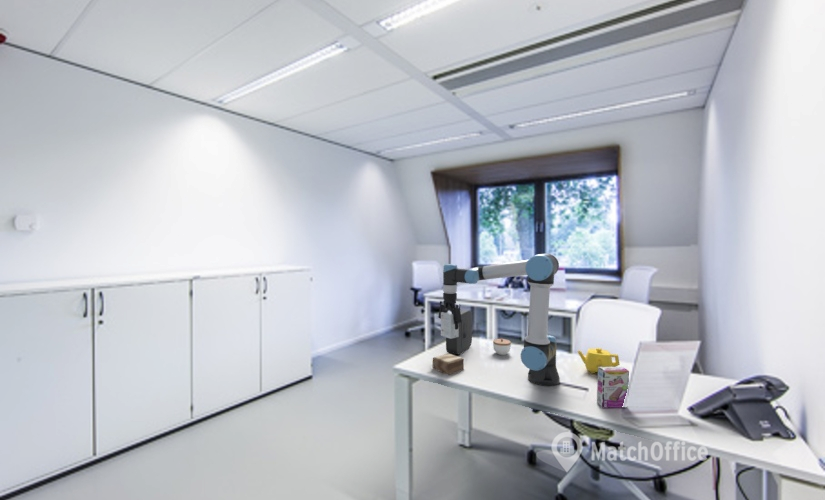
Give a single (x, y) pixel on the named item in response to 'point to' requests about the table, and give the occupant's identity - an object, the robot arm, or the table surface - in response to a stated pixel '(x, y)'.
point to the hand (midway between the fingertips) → (449, 333)
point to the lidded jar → (501, 346)
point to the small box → (447, 325)
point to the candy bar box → (612, 386)
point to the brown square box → (448, 363)
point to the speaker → (461, 335)
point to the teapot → (598, 359)
